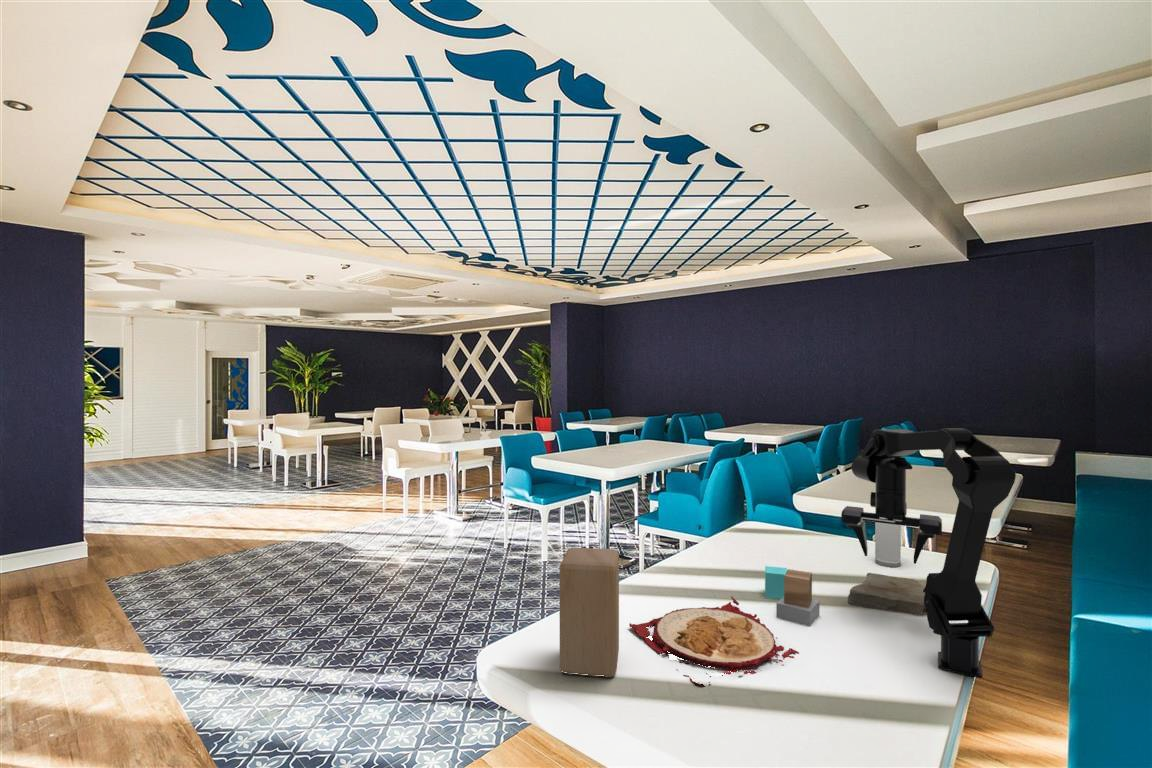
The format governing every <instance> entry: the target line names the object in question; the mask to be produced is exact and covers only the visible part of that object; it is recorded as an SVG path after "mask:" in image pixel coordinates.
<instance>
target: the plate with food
mask: <svg viewBox="0 0 1152 768" xmlns="http://www.w3.org/2000/svg"><path fill="white" fill-rule="evenodd" d="M730 598H731V600H732V602H731V601H729V602H728V603H726V604H723V605H721V607H720V606H716V607H705V606H703V607H696V608H695V607H689V608H688V607H687V608H681V609H676V610H672V611H670V612H667V613H666V614H664V615H663V616H660V617H658V618H653V619H651V620H649V621H648V622H642V623H639V624H638V623H637V624H635V623H631V622H629V624H628V625H629V628H631V629H632V630H633V631H634V632H636V633H637V635H638V636H639V637H641V638H644V640H645V642H646V643H647V645H648V646H649V647H650V648H652V650H655V651H656V652H658V654H659V653H666V654H665V655H667V654H673V655H675V656H677V657H679V658H682V659H684V660H687V661H686V662H688V661H690V662H692V663H691V664H693V663H695V664H694V665H696V664H700V665H703V666H706V667H708V666H711V667H715V668H719V670H724V669H725V670H724V671H725V672H723V673H724V674H725V673H726V674H728V675H732V674H735V673H738V672H737V670H741V669H742V670H743V669H745V671H743V673H744V675H748V673H750V674H751V675H752V674H757V673H756V671H755V670H757V669H758V667H756V666H757V665H758V666H759V665H761V664H763V663H764V662H765V661H768V660H773V657H775V658H776V660H777V659H778V658H779V657H780V654H779V653H778V652H783V653H781V654H782V655H781V657H782V659H778V661H776V662H775V663H776V664H779V663H780V662H781V663H783V662H784V661H783V660H785V658H789V659H795V656H796V655H799V654H800V652H799V651H798V650H795V649H793V648H790V647H788V649H787V650H785V646H783V645H778V646H777V643H776V640H775V639H777V640H778V637H775V635H774V633H773V632H771V630H770V629H769V628H768V627H767V626H766V624H765V623H761V619H760V618H759V617H758V618H757V616H758V614H757V613H754V615H753V614H752V613H747V612H744V611H742V610H740V607H738V606H739V604H740V602H738V601H737V599H735V597H733V596H730ZM732 603H733V604H734V605H733V604H732ZM735 605H736V606H735ZM653 625H654V626H653ZM649 626H650V628H652V627H653V633H652V635H651V632H650V631H649V630H650V628H646V627H649ZM651 626H652V627H651ZM649 635H651V636H652V638H653V640H652V641H651V640H650V639H649V638H646V637H648V636H649ZM667 651H668V652H670V653H668V652H667ZM790 654H794V655H795V656H794V655H790ZM684 660H683V661H684ZM690 662H689V663H690ZM700 665H699V666H700ZM703 666H702V667H703ZM781 666H785V664H781ZM711 667H710V669H712V668H711ZM720 668H721V669H720ZM746 670H747V671H746ZM726 671H727V672H726ZM728 671H729V672H728ZM730 671H731V672H733V673H731V672H730ZM750 671H751V672H750ZM759 671H760V672H762V670H760V669H759ZM734 672H735V673H734ZM750 674H749V675H750ZM722 676H723V675H722ZM738 677H739V678H740V677H741V675H738ZM691 678H692V677H691ZM691 678H690V677H689V680H690V681H691V682H692V683H694V682H693V681H692V679H691ZM708 683H711V682H710V681H708ZM698 685H699V686H702V685H701V684H698Z"/></svg>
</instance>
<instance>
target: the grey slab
mask: <svg viewBox="0 0 1152 768" xmlns="http://www.w3.org/2000/svg"><path fill="white" fill-rule="evenodd" d="M820 604H821V603H820V600H818V599H817V600H816V599H813V598H812V601H811V603H810V606H809V608H807V607H802V606H796V605H791V604H786V603H784V597H783V598H782V599H778V601H777V602H776V606H775V607H776V615H775V616H776V618H777V619H780V620H784V621H788V622H791V623H795V624H800V625H803V626H806V627H811V626H812V625H813V623H814V622H815V621H816V620H817V619H818V618H819V617H820V608H821V606H820Z"/></svg>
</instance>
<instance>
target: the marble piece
mask: <svg viewBox="0 0 1152 768" xmlns="http://www.w3.org/2000/svg"><path fill="white" fill-rule="evenodd" d="M924 588H925V586H924V585H923V584H922V583H920V582H919V581H918V580H917V579H914V578H907V577H900V576H899V577H897V576H890V575H885V574H880V573H873V572H867V573H866V579H864V580H863V582H862V583H860V584H857V585H853V586H852V587H851V588H850V590H849V593H848V596H847V603H848V604H849V605H853V606H859V607H865V608H871V609H877V610H883V611H890V612H891V611H892V612H897V613H901V614H902V613H903V614H908V615H914V616H921V615H922V614H923V612H924V609H925V606H924V596H925V592H923V590H924Z"/></svg>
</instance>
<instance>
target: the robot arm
mask: <svg viewBox="0 0 1152 768" xmlns="http://www.w3.org/2000/svg"><path fill="white" fill-rule="evenodd" d="M933 450H934V451H935V450H936V451H938V450H939V451H940V452H941V453H942V459H943V463H942V464H943V466H944V467H945V468H946V470H947V471H948V472H949V474H950V475H951V476H952V480H951V481H952V482H951V483H952V484H951V486H952V489H953V491H954V493H955V494H956V497H957V499H958V504H957V507H956V513H955V516H954V517H955V518H954V521H953V525H952V530H951V533H950V537H949V541H948V546H947V551H946V555H945V559H944V564H943V568H942V570H941V571H940V572H929V573H928V574H927V576H926V583H925V586H924V587H925V588H924V590H923V592H925V596H924V606H925V608H924V609H925V614H926V618H927V623H928V628H929V629H931V630H932V633H933V634H935V635H938V636H940V651H938V652H937V668H938V669H940V670H945V671H948V672H953V673H957V674H961V673H963V674H962V675H966V676H971V677H974V678H979V679H982V678H984V677H983V669H982V664H981V663H982V662H981V660H980V654H979V653H980V638H982V637H988V638H991V637H992V636H993V634H994V631H995V626H994V624H993V623H992V621H991V619H990V618H989V616H988V614H987V613H986V610H985V609H984V607H983V606H982V600H983V595H982V593H981V590H980V588H979V586H978V584H977V582H976V580H977V579H976V578H977V575H978V571H979V567H980V563H981V560H982V556H983V551H984V546H985V543H986V538H987V535H988V531H989V529H990V523H991V520H992V516H993V511H994V510H995V509H996V508H997V507H998V506H999V505H1000V504H1001V503H1002V502H1003V501H1005V500H1006V499H1007V498H1008V497H1009V495H1010V492H1011V491H1012V488H1013V486H1014V484H1015V481H1016V476H1017V474H1016V470H1015V469H1014V467H1013V466H1012V464H1011V463H1010V461H1008V459H1006V458H1005V457H1004V456H1003V455H1002V454H1001V453H1000V452H999V450H997V449H996V448H994V447H993V446H990V445H989V444H988V443H986V442H984V441H982V440H980V439H979V438H977V437H976V436H975V434H974V433H972V431H970V430H969V429H966V428H958V427H956V428H953V427H952V428H950V427H949V428H947V427H946V428H941V429H939V430H937V429H936V430H925V431H913V430H910V429H904V428H903V429H899V428H898V429H896V428H895V429H892V428H891V429H875V430H873V431H872V434H871V435H870V436H869V439H868V441H867V443H866V445H865V447H864V448H863V449H862V450H861V449H860V450H859V455H858V456H856V457H855V458H854V459H853V461H852V464H851V466H850V467H851V471H852V474H853V475H854V476H855V477H856V478H858V479H861V480H863V481H867V482H871V483H874V484H875V492H874V491H871V492H870V502H869V505H870V507H872V508H874V509H875V511H874V512H867V511H864V507H860V506H850V505H849V506H848V505H846V506H845V507H844V508H843V509H842V511H841V514H840V515H841V517H840V518H841V521H840V523H843V524H847V528H851V529H853V531H854V533H855V535H856V537H857V539H858V541H859V544H860V546H861V549H862V551H863V554H864V557H868V550H869V549H868V542H867V541H868V540H867V532H866V522H872V523H875V522H879V523H887V524H895V525H901V526H905V527H913V528H917V534H916V542H915V546H914V552H913V553H914V554H913V564H915V565H916V564H917V562H918V559H919V557H920V554H921V552H922V550H923V547H924V546H925V544H926V543H927V542H928V539H934V538H935V535H937V536H941V535H943V521H942V518H941V517H940V515H931V514H921V513H920V514H919V517H908V516H907V512H908V511H907V509H908V508H907V500H906V499H907V496H906V495H907V470H913V465H912V464H911V463H910V462H909V461H908V460H907V459H906V457H907V456H910V455H914V454H916V452H918V451H933ZM957 451H964V453H966V454H967V455H968V456H963V457H961V455H959V453H958V452H957ZM905 456H906V457H905ZM880 517H882V518H885V519H881V518H880ZM895 520H900V521H895ZM959 621H961V622H959ZM962 621H967V622H962ZM952 622H954V623H952Z"/></svg>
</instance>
